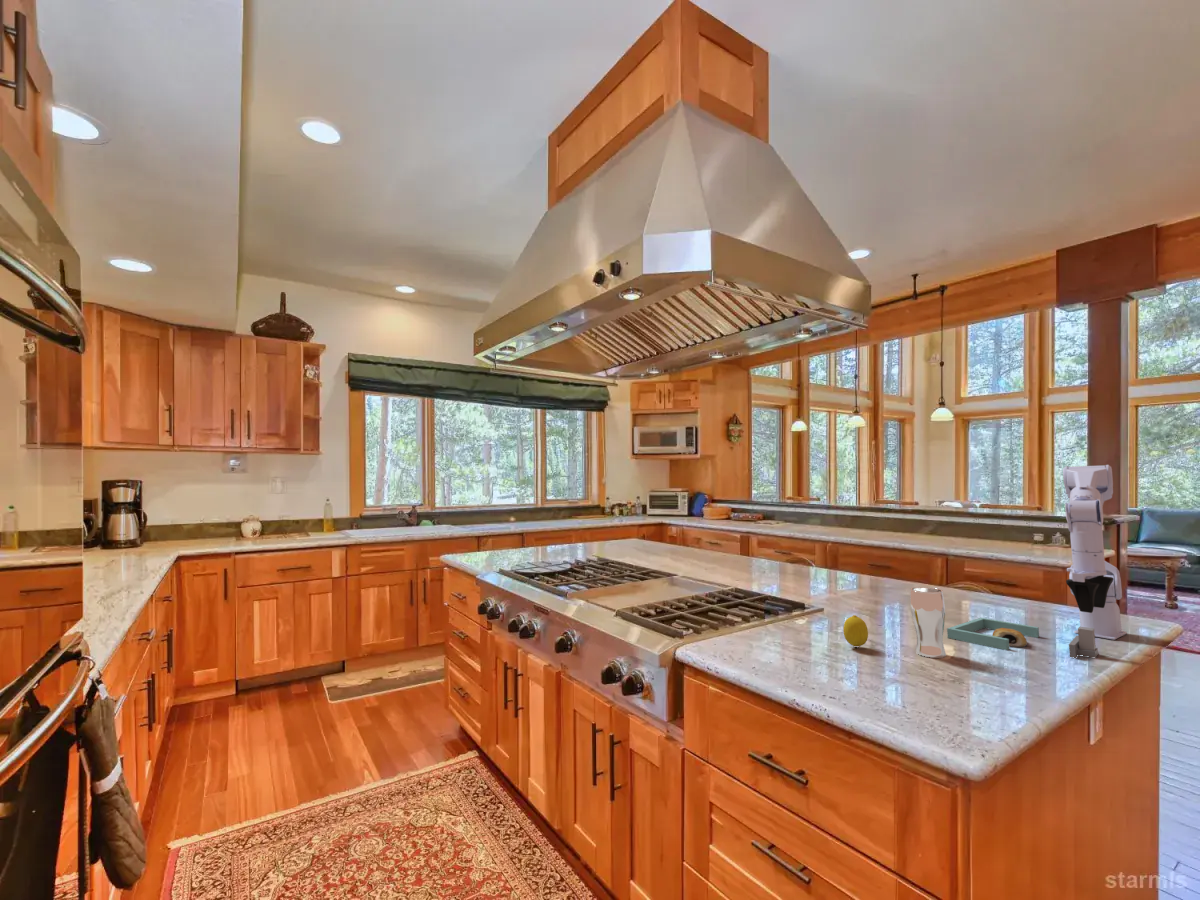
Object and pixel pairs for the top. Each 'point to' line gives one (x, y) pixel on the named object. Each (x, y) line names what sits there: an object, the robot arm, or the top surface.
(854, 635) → the lemon
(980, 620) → the bay
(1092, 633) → the pusher
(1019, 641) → the pastry
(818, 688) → the top surface
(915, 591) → the beer glass
